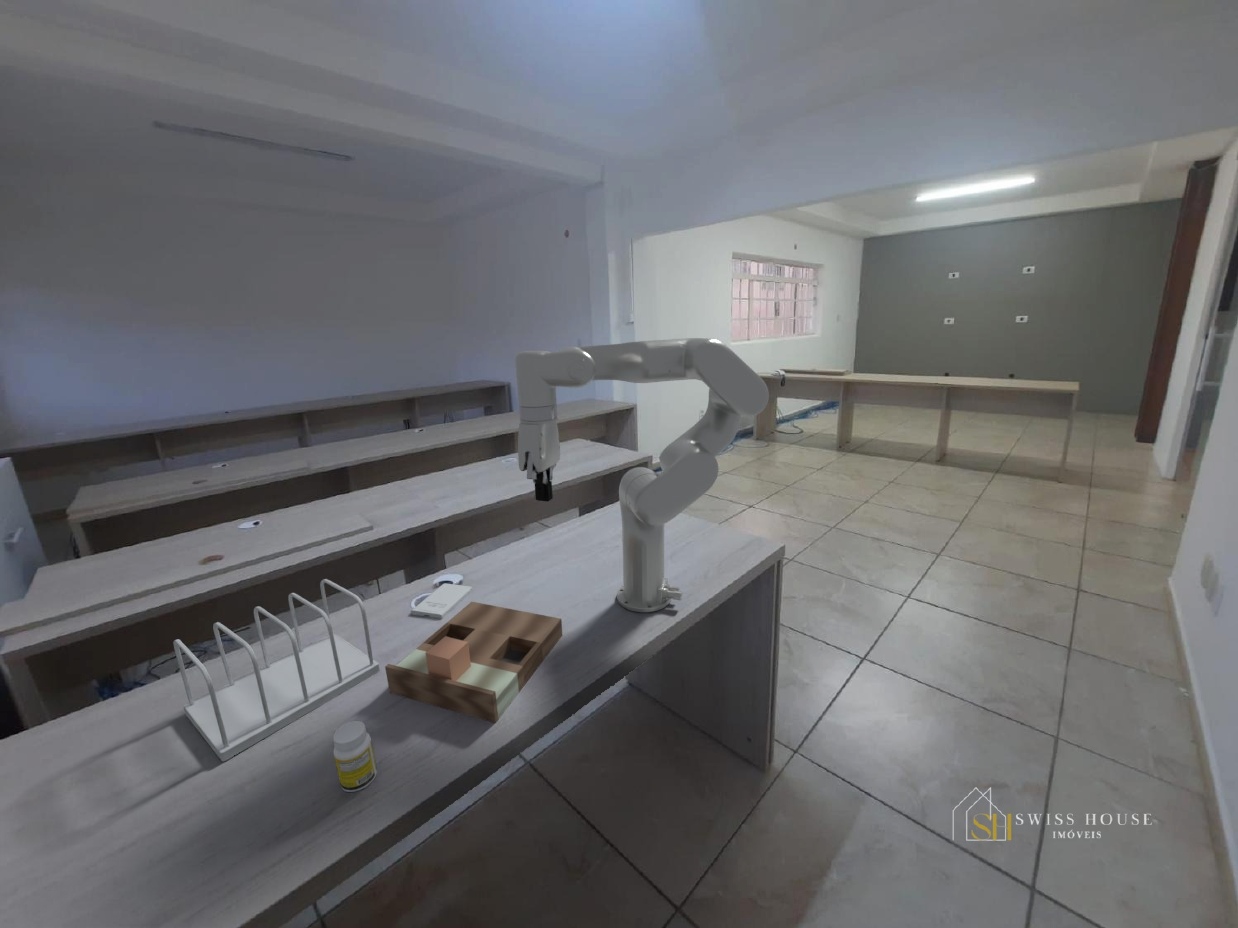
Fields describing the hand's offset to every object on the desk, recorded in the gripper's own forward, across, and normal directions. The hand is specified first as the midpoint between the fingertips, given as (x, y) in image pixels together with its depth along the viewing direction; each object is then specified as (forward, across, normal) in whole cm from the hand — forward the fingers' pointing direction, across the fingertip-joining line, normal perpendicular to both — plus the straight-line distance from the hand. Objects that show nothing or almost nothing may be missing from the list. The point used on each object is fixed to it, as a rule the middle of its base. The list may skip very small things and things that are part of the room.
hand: (544, 499), depth 104 cm
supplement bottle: (+27, +47, -7) cm, 55 cm away
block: (+23, +28, -6) cm, 37 cm away
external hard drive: (+28, +4, -27) cm, 39 cm away
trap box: (+27, +19, -5) cm, 33 cm away
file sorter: (+28, +37, -34) cm, 57 cm away
